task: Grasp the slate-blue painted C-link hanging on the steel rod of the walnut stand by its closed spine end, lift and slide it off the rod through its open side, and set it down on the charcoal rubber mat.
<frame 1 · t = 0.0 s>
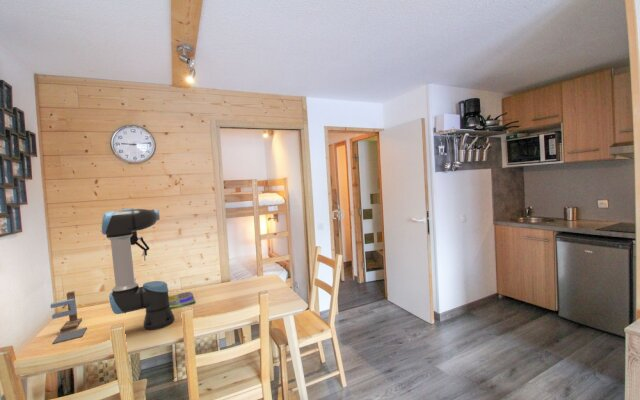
hand: (133, 262, 200), 28 cm above the table, fingers open, 13 cm apart
c link: (74, 313, 166), point 9 cm above the table, touching stand
green and purple book: (180, 302, 197), on the table
mat: (70, 335, 158), on the table
stand: (73, 322, 175), on the table
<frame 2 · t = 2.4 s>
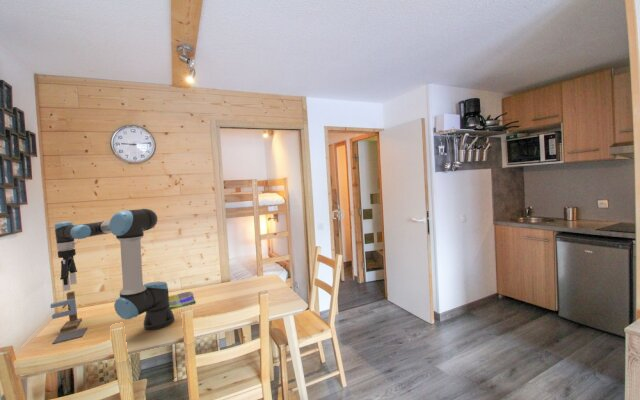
hand: (70, 287, 165), 24 cm above the table, fingers open, 13 cm apart
nothing on the table moved.
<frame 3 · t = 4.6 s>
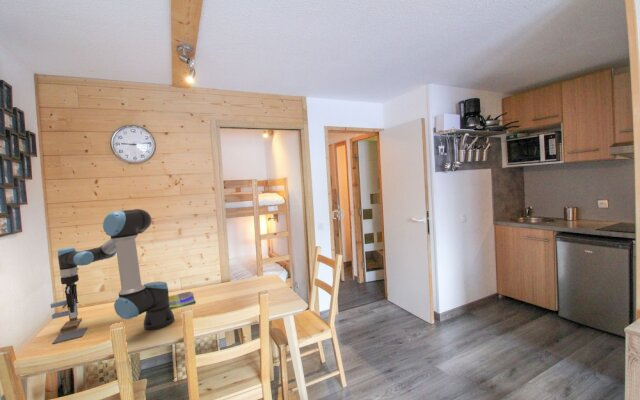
hand: (74, 316, 166), 7 cm above the table, fingers closed on c link, 2 cm apart
c link: (73, 313, 166), point 9 cm above the table, touching gripper, stand
everything else where it was.
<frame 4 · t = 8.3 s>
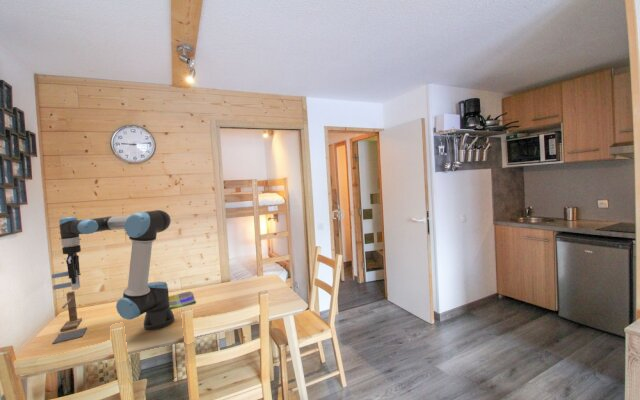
hand: (76, 288, 160), 24 cm above the table, fingers closed on c link, 2 cm apart
c link: (75, 285, 160), point 26 cm above the table, touching gripper
everything else where it was.
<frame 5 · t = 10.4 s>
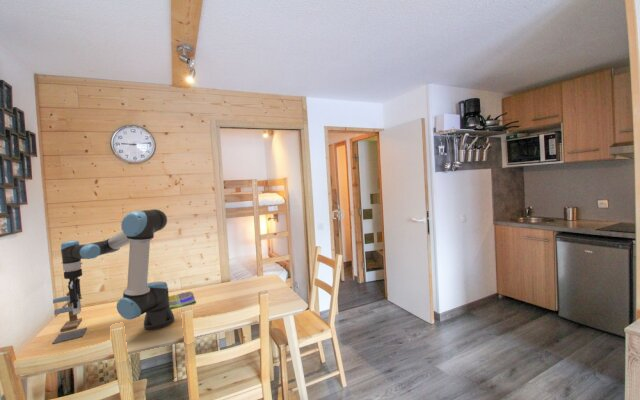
hand: (77, 312, 159), 12 cm above the table, fingers closed on c link, 2 cm apart
c link: (77, 309, 159), point 13 cm above the table, touching gripper
everything else where it was.
when the fingers open (2 cm above the table, at t = 12.1 s): c link drops 3 cm, resting on mat.
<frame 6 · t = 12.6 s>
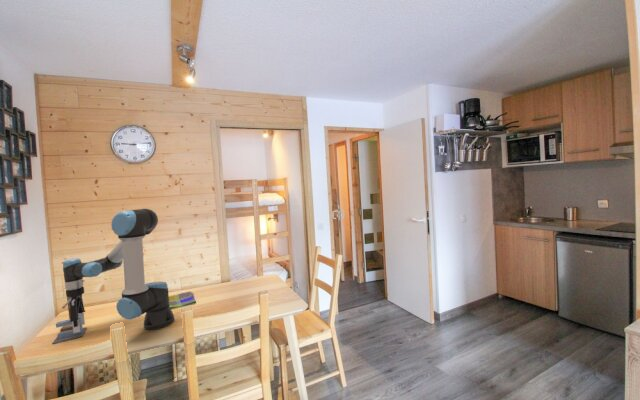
hand: (79, 328, 160), 3 cm above the table, fingers open, 10 cm apart
c link: (80, 332, 160), point 1 cm above the table, touching mat
everything else where it was.
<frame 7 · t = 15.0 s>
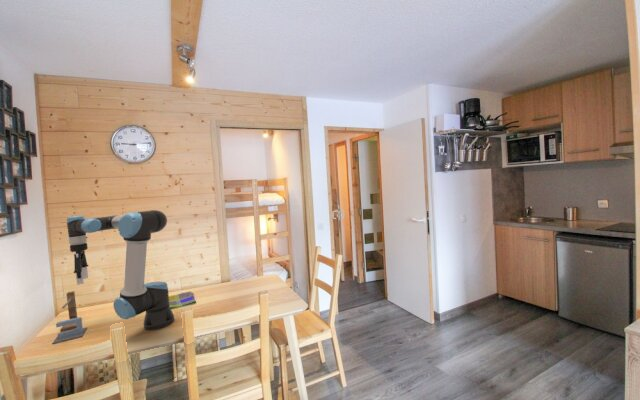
hand: (82, 281, 165), 27 cm above the table, fingers open, 13 cm apart
nothing on the table moved.
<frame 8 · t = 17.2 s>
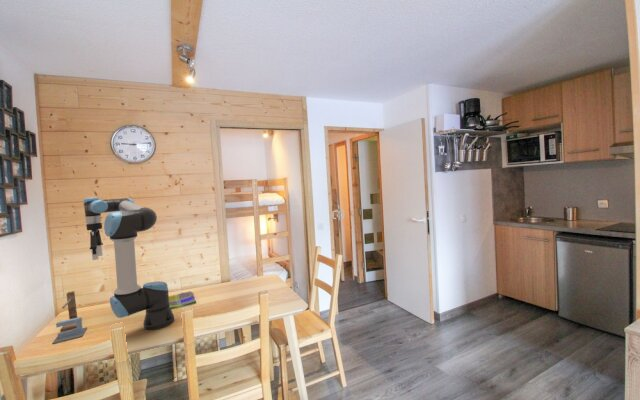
hand: (97, 257, 180), 37 cm above the table, fingers open, 13 cm apart
nothing on the table moved.
at the end: c link inside the target area on the mat (4.1 cm from its centre), point 0.6 cm above the mat's base; c link touching mat; the gripper is holding nothing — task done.
